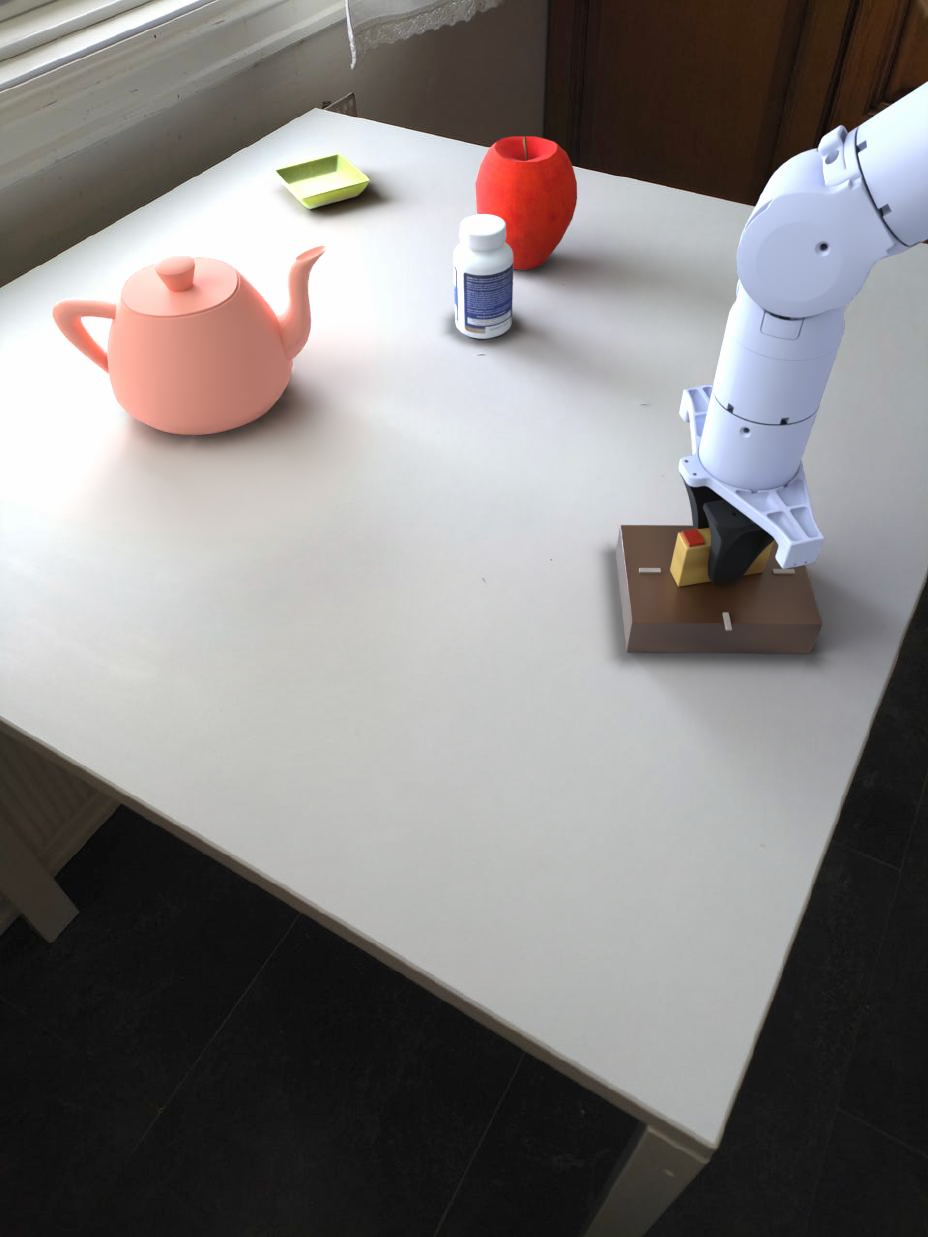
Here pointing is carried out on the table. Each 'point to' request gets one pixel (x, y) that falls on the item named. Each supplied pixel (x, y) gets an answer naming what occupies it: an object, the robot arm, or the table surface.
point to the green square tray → (323, 180)
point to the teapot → (195, 342)
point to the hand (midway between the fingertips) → (717, 566)
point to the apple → (528, 195)
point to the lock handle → (702, 557)
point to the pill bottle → (483, 277)
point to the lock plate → (710, 602)
